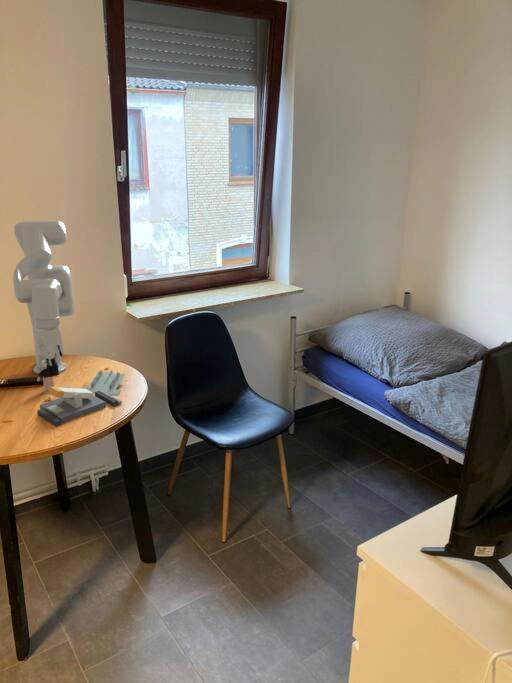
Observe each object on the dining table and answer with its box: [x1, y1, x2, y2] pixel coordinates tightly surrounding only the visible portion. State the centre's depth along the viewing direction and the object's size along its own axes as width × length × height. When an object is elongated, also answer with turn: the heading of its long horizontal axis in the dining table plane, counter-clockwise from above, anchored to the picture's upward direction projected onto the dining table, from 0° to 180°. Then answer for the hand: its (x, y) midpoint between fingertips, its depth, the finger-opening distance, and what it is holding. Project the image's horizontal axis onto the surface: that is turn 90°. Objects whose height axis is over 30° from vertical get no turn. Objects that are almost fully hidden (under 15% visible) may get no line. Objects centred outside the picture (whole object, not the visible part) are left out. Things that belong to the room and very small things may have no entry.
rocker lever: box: [48, 386, 95, 399], centre depth 187 cm, size 6×14×2 cm, turn 138°
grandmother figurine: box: [36, 360, 59, 394], centre depth 199 cm, size 8×4×13 cm, turn 148°
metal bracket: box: [81, 369, 126, 397], centre depth 206 cm, size 14×6×15 cm
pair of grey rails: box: [37, 391, 123, 428], centre depth 188 cm, size 13×25×2 cm, turn 138°
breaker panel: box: [39, 385, 107, 425], centre depth 188 cm, size 14×17×7 cm
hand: (53, 375), depth 179 cm, fingers closed
